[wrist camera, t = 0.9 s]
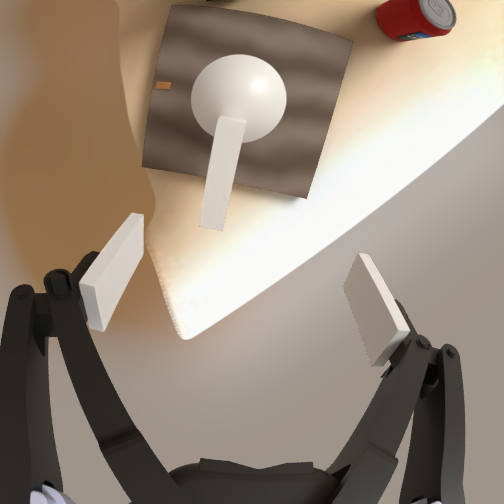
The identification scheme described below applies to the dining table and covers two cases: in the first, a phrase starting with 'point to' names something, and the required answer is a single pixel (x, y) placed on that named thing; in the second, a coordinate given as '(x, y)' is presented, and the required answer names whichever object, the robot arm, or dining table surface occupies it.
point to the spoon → (233, 121)
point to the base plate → (275, 54)
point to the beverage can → (416, 18)
